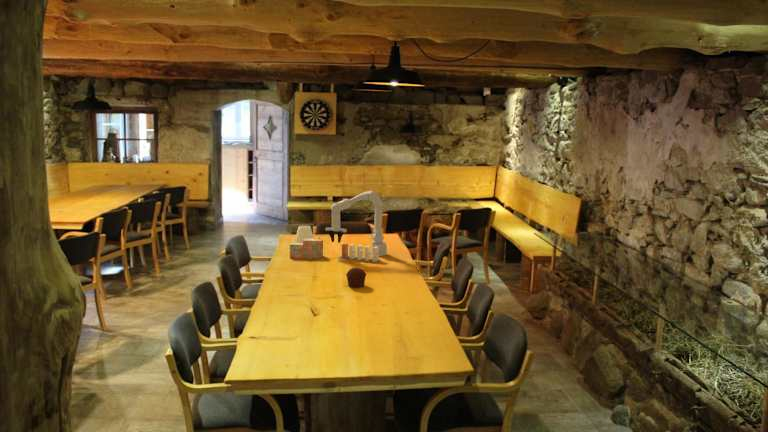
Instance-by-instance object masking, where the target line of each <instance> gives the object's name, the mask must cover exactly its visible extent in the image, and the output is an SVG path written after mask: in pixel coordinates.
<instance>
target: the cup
mask: <svg viewBox="0 0 768 432" xmlns="http://www.w3.org/2000/svg"><path fill="white" fill-rule="evenodd" d="M296 230H297V231H296V235H295V239H294V240H295V241H294V242H295V243H303V240H304V239H315V238H314V235H313V230H312V228H311V226H310V225H299V226H298V227H297V229H296Z"/></svg>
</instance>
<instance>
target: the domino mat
mask: <svg viewBox="0 0 768 432" xmlns="http://www.w3.org/2000/svg"><path fill="white" fill-rule="evenodd" d="M337 259H339V260H340V259H341V260H349V261H356V262H360V261H361V262H369V263H374V262H373V258H371V259H370V260H368V261H365V257H363V259H361V260H357V256H355V258H354V259H349V255H348V257H347V258H342V255H341V256H339V257H337ZM379 261H380V259H379V258H378V261H376V262H375V263H378V262H379Z"/></svg>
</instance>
